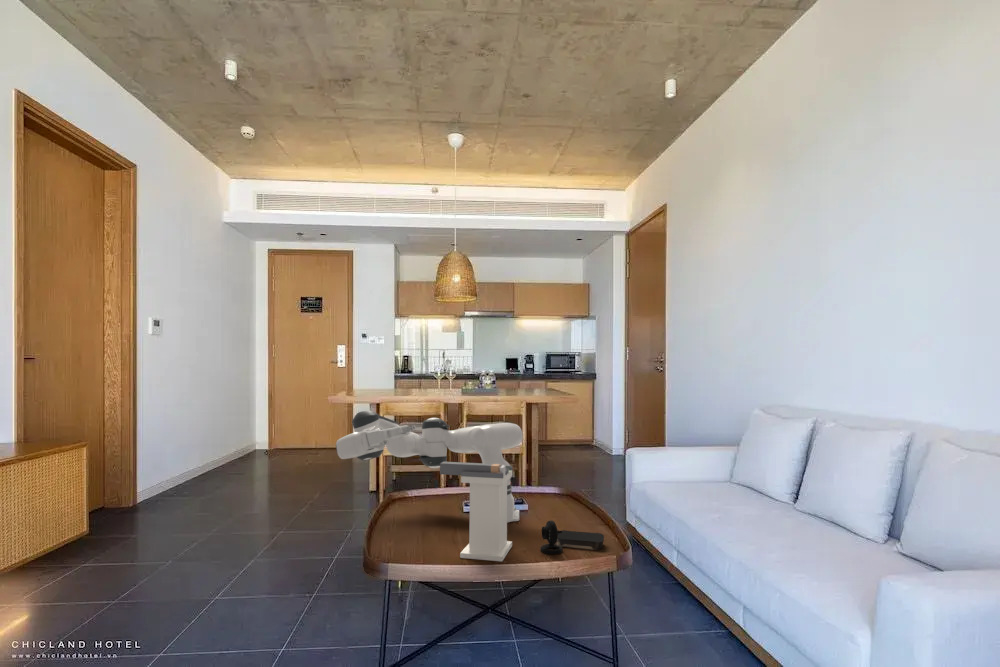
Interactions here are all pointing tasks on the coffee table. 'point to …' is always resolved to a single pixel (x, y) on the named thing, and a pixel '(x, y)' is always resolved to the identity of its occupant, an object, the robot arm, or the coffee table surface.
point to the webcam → (551, 538)
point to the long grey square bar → (467, 468)
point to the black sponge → (580, 540)
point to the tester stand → (487, 515)
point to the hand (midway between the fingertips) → (408, 428)
